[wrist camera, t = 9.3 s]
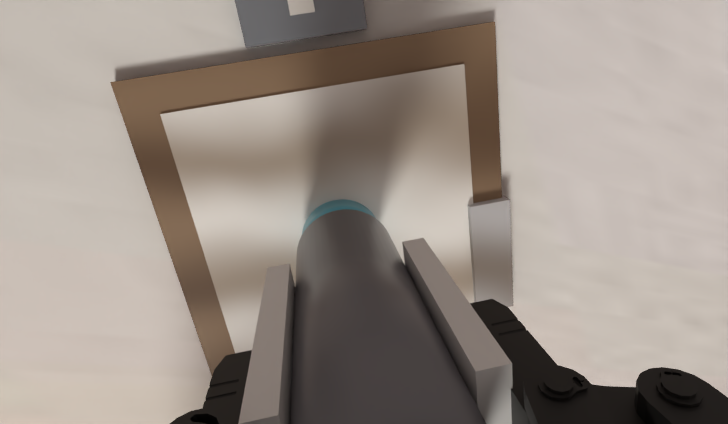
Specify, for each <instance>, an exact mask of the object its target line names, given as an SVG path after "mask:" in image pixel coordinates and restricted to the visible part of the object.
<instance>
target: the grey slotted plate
mask: <svg viewBox="0 0 728 424" xmlns="http://www.w3.org/2000/svg"><path fill="white" fill-rule="evenodd" d="M235 3H236V7H237V12H238V16H239V20H240V24H241V29H242V33H243V37H244V42H245V46H246V48H250V47H256V46H263V45H269V44H276V43H282V42H288V41H295V40H301V39H308V38H314V37H321V36H327V35H333V34H340V33H346V32H353V31H359V30H365V29H367V24H366V17H365V10H364V2H363V0H235Z"/></svg>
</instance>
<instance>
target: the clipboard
mask: <svg viewBox="0 0 728 424" xmlns="http://www.w3.org/2000/svg"><path fill="white" fill-rule="evenodd" d="M111 85H112V88H113V91H114V94H115V97H116V100H117V102H118V105H119V108H120V111H121V114H122V117H123V120H124V123H125V126H126V128H127V131H128V134H129V137H130V140H131V143H132V146H133V149H134V152H135V154H136V157H137V160H138V163H139V166H140V169H141V172H142V175H143V178H144V180H145V183H146V186H147V189H148V192H149V195H150V198H151V201H152V204H153V206H154V209H155V212H156V215H157V218H158V221H159V224H160V227H161V230H162V233H163V235H164V238H165V241H166V244H167V247H168V250H169V253H170V256H171V259H172V261H173V264H174V267H175V270H176V273H177V276H178V279H179V282H180V285H181V287H182V290H183V293H184V296H185V299H186V302H187V305H188V308H189V311H190V313H191V316H192V319H193V322H194V325H195V328H196V331H197V334H198V337H199V339H200V342H201V345H202V348H203V351H204V354H205V357H206V360H207V363H208V365H209V368H210V371H211V374H212V375H213V372H214V370H215V368H216V367H217V366H218V364H219V363H220V362H221V361H222V359H223V358H224V357H225V356H226V355H230V354H235V353H239V352H244V351H249V350H252V348H253V342H254V337H255V331H256V326H257V321H258V315H259V310H260V305H261V299H262V294H263V288H264V283H265V278H266V272H267V268H268V267H273V266H279V265H284V264H289V263H290V267H291V271H292V275H293V280H294V284H295V281H296V257H297V247H298V243H299V240H300V238H301V236H302V230H303V227H304V224H305V222H306V220H307V218H308V216H309V215H310V214H311V213H312V212H313V211H314V210H315V209H316V208H317V207H319V206H320V205H322V204H324V203H326V202H329V201H333V200H339V199H346V200H352V201H356V202H358V203H360V204H362V205H364V206H365V207H367V208H368V209H369V210H370V211H371V212H372V213H373V215H374V216H375V218H376V219H377V220H378V221H380V222H381V223H382V224H383V226H384V227H385V228H386V230H387V231H388V233H389V235H390V237H391V239H392V241H393V243H394V245H395V247H396V249H397V251H398V253H399V255H400V257H401V259H402V261H403V262H404V264H405V261H404V253H403V245H402V242H403V241H408V240H414V239H419V238H424V239H425V241H426V242H427V244H428V245H429V246H430V248H431V249H432V251H433V252H434V253H435V255H436V256H437V258H438V259H439V261H440V262H441V263H442V265H443V266H444V268H445V269H446V270H447V272H448V273H449V275H450V276H451V278H452V279H453V280H454V282H455V283H456V285H457V286H458V287H459V289H460V290H461V292H462V293H463V295H464V296H465V297H466V299H467V300H468V302H469V303H474V302H479V301H484V300H488V299H494V300H496V301H497V302H499V303H501V304H503V305H505V306H507V307H509V306H513V279H512V248H511V217H510V199H508V198H507V197H505V196H502V189H501V164H500V138H499V113H498V88H497V62H496V37H495V22H489V23H483V24H476V25H470V26H464V27H457V28H451V29H445V30H438V31H432V32H426V33H419V34H413V35H407V36H400V37H394V38H388V39H381V40H375V41H369V42H362V43H356V44H350V45H343V46H337V47H331V48H325V49H318V50H312V51H306V52H299V53H293V54H287V55H280V56H274V57H268V58H261V59H255V60H249V61H242V62H236V63H230V64H223V65H217V66H211V67H204V68H198V69H192V70H185V71H179V72H173V73H166V74H160V75H154V76H147V77H141V78H135V79H128V80H122V81H116V82H111Z"/></svg>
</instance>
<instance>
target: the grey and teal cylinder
mask: <svg viewBox="0 0 728 424" xmlns="http://www.w3.org/2000/svg"><path fill="white" fill-rule="evenodd" d="M290 424H486V422H485V420H484V418H483V416H482V414H481V412H480V410H479V408H478V406H477V405H476V403H475V401H474V399H473V397H472V395H471V393H470V391H469V389H468V387H467V385H466V383H465V381H464V379H463V377H462V375H461V373H460V371H459V369H458V368H457V366H456V364H455V362H454V360H453V358H452V356H451V354H450V352H449V350H448V348H447V346H446V344H445V342H444V340H443V338H442V336H441V334H440V333H439V331H438V329H437V327H436V325H435V323H434V321H433V319H432V317H431V315H430V313H429V311H428V309H427V307H426V305H425V303H424V301H423V299H422V297H421V296H420V294H419V292H418V290H417V288H416V286H415V284H414V282H413V280H412V278H411V276H410V274H409V272H408V270H407V268H406V266H405V264H404V262H403V261H402V259H401V257H400V255H399V253H398V251H397V249H396V247H395V245H394V243H393V241H392V239H391V237H390V235H389V233H388V231H387V230H386V228H385V227H384V226H383V224H382V223H381V222H380V221H378V220H377V219H376V218H375V216H374V215H373V213H372V212H371V211H370V210H369V209H368V208H367V207H365V206H364V205H362V204H360V203H358V202H356V201H352V200H346V199H339V200H333V201H329V202H326V203H324V204H322V205H320V206H319V207H317V208H316V209H315V210H314V211H313V212H312V213H311V214H310V215H309V216H308V218H307V220H306V222H305V224H304V227H303V230H302V236H301V238H300V240H299V243H298V247H297V257H296V281H295V305H294V329H293V353H292V377H291V401H290Z"/></svg>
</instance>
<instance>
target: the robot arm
mask: <svg viewBox="0 0 728 424" xmlns="http://www.w3.org/2000/svg"><path fill="white" fill-rule="evenodd" d="M402 245H403V253H404V261H405V266H406V268H407V270H408V272H409V274H410V276H411V278H412V280H413V282H414V284H415V286H416V288H417V290H418V292H419V294H420V296H421V297H422V299H423V301H424V303H425V305H426V307H427V309H428V311H429V313H430V315H431V317H432V319H433V321H434V323H435V325H436V327H437V329H438V331H439V333H440V334H441V336H442V338H443V340H444V342H445V344H446V346H447V348H448V350H449V352H450V354H451V356H452V358H453V360H454V362H455V364H456V366H457V368H458V369H459V371H460V373H461V375H462V377H463V379H464V381H465V383H466V385H467V387H468V389H469V391H470V393H471V395H472V397H473V399H474V401H475V403H476V405H477V406H478V408H479V410H480V412H481V414H482V416H483V418H484V420H485V422H486V424H728V398H727V397H726V396H725V395H723V394H722V393H721V392H719V391H718V390H717V389H715V388H714V387H713V386H711V385H710V384H708V383H707V382H705V381H703V380H702V379H700V378H698V377H696V376H695V375H692V374H689V373H686V372H684V371H681V370H678V369H670V368H663V367H661V368H651V369H648V370H646V371H644V372H642V373H640V375H639V377H638V379H637V381H636V388H635V387H610V386H599V385H592V384H590V382H589V381H588V380H587V379H586V378H585V377H584V376H582V375H581V374H579V373H577V372H576V371H574V370H572V369H569V368H565V367H562V366H558V365H557V364H556V363H555V362H554V361H553V360H552V358H551V357H550V356H549V355H548V354H547V353H546V351H545V350H544V349H543V348H542V347H541V346H540V344H539V343H538V342H537V341H536V340H535V339H534V337H533V336H532V335H531V334H530V333H529V332H528V330H527V331H526V329H525V327H524V326H523V324H522V323H521V322H520V321H518V320H517V317H516V316H515V315H514V314H513V313H512V312H511V310H510V309H509V308H508V307H507V306H505V305H503V304H501V303H499V302H497V301H496V300H494V299H488V300H484V301H479V302H474V303H469V302H468V300H467V299H466V297H465V296H464V295H463V293H462V292H461V290H460V289H459V287H458V286H457V285H456V283H455V282H454V280H453V279H452V278H451V276H450V275H449V273H448V272H447V270H446V269H445V268H444V266H443V265H442V263H441V262H440V261H439V259H438V258H437V256H436V255H435V253H434V252H433V251H432V249H431V248H430V246H429V245H428V244H427V242H426V241H425V239H424V238H419V239H414V240H408V241H403V242H402ZM294 305H295V284H294V280H293V275H292V271H291V267H290V263H289V264H284V265H279V266H273V267H268V268H267V272H266V278H265V283H264V288H263V294H262V299H261V305H260V310H259V315H258V321H257V326H256V331H255V337H254V342H253V348H252V350H249V351H244V352H239V353H235V354H230V355H226V356H225V357H224V358H223V359H222V361H221V362H220V363H219V364H218V366H217V367H216V368H215V370H214V372H213V375H212V379H211V382H210V388H209V389H208V392H207V395H206V401H205V402H204V405H203V409H199V410H194V411H191V412H188V413H186V414H184V415H182V416H180V417H178V418H177V419H175V420H174V421H173V422H171V423H170V424H290V401H291V377H292V353H293V329H294Z"/></svg>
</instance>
